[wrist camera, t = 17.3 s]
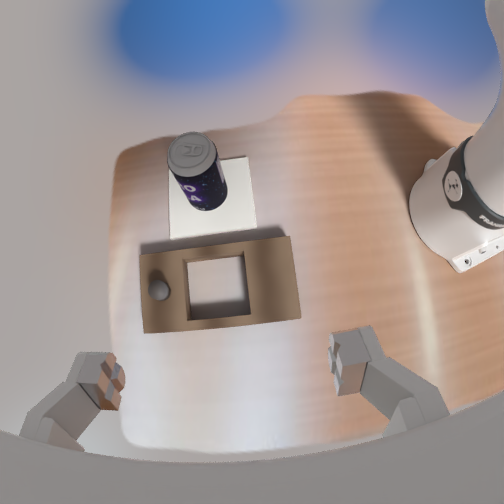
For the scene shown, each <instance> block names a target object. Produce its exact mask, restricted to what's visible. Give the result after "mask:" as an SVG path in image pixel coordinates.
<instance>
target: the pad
mask: <svg viewBox="0 0 504 504" xmlns="http://www.w3.org/2000/svg"><path fill="white" fill-rule="evenodd" d="M220 163H221V167H222V170H223V174H224V177H225V181H226V184H227V188H228V193H227V197H226V199H225V201H224V202H223V204H222V205H221V206H219V207H218V208H216V209H214V210H211V211H201V210H198V209H196V208H194V207H193V206H192V205H191V204H190V202H189V201H188V199H187V197H186V196H185V194H184V192H183V191H182V189H181V187H180V186H179V184H178V182H177V180H176V179H175V177H174V175H173V174H172V172H171V170H170V169H169V216H170V239H171V240H176V239H183V238H190V237H197V236H205V235H212V234H220V233H228V232H235V231H243V230H251V229H257V224H256V216H255V208H254V200H253V192H252V185H251V177H250V169H249V162H248V157H244V158H237V159H230V160H222V161H220Z"/></svg>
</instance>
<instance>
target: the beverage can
mask: <svg viewBox="0 0 504 504" xmlns="http://www.w3.org/2000/svg"><path fill="white" fill-rule="evenodd" d="M167 162H168V167H169V169H170V170H171V172H172V174H173V175H174V177H175V179H176V180H177V182H178V184H179V186H180V187H181V189H182V191H183V192H184V194H185V196H186V197H187V199H188V201H189V202H190V204H191V205H192V206H193V207H194V208H196V209H198V210H201V211H211V210H214V209H216V208H218V207H219V206H221V205H222V204H223V202H224V201H225V199H226V197H227V193H228V188H227V184H226V181H225V177H224V174H223V170H222V167H221V163H220V160H219V156H218V153H217V149H216V146H215V144H214V143H213V142H212V141H211V140H210V139H209V138H208V137H207V136H205V135H204V134H202V133H198V132H188V133H184V134H182V135H180V136H178V137H177V138H176V139H175V140H173V142H172V143H171V144H170V146H169V149H168V159H167Z"/></svg>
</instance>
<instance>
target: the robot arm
mask: <svg viewBox="0 0 504 504" xmlns="http://www.w3.org/2000/svg"><path fill="white" fill-rule="evenodd" d="M485 10H486V16H487V21H488V24H489V26H490V28H491V30H492V33H493V35H494V38H495V41H496V44H497V48H498V52H499V58H500V67H501V81H500V89H499V94H498V98H497V101H496V104H495V106H494V108H493V110H492V111H491V113H490V115H489V116H488V118H487V119H486V121H485V122H484V123H483V125H482V126H481V127H480V129H479V130H478V131H477V132H476V134H475V135H474V136H470V137H469V138H467V139H466V140H465V141H463V142H462V143H461V144H460V145H459V146H458V147H457V148H455V147H452V148H450V149H449V150H448V151H447V152H446V153H445V154H444V155H442V156H441V157H440V158H439V159H438V160H435V159H430V160H429V161H428V162H427V163H426V165H425V168H424V173H423V175H422V176H421V177H420V178H419V179H418V180H417V181H416V183H415V184H414V186H413V188H412V190H411V194H410V200H409V208H410V215H411V219H412V222H413V225H414V227H415V229H416V231H417V233H418V235H419V236H420V238H421V239H422V240H423V242H424V243H425V244H426V245H427V246H428V247H429V248H430V249H431V250H432V251H434V252H435V253H437V254H438V255H440V256H442V257H444V258H445V259H446V260H447V261H448V262H449V263H450V265H451V266H452V267H453V268H454V269H455V270H456V271H457V272H458V273H462V272H464V271H466V270H468V269H470V268H472V267H474V266H476V265H478V264H479V263H481V262H483V261H485V260H487V259H489V258H490V257H492V256H494V255H496V254H498V253H499V252H501V251H503V250H504V0H485ZM465 260H466V262H467V264H466V263H465ZM329 342H330V345H331V346H330V347H329V348H328V359H329V366H330V370H331V373H333V374H334V375H335V376H334V385H335V388H336V392H337V395H338V396H343V395H348V394H354V393H359V392H360V394H361V395H362V396H363V397H365V398H366V399H367V400H368V401H369V402H370V403H371V404H372V405H373V406H375V407H376V408H377V409H378V410H379V411H380V412H381V413H382V414H384V415H385V416H386V417H387V418H388V419H389V420H390V422H389V424H388V425H387V427H386V429H385V431H384V433H383V438H381V439H377V440H373V441H370V442H365V443H361V444H357V445H353V446H348V447H344V448H339V449H334V450H329V451H323V452H318V453H312V454H305V455H299V456H291V457H283V458H276V459H266V460H253V461H237V462H209V463H208V462H206V463H204V462H166V461H150V460H139V459H128V458H120V457H113V456H106V455H99V454H93V453H87V452H84V451H85V450H84V448H83V446H81V445H80V444H79V443H78V442H77V441H76V440H77V439H78V438H79V436H80V435H81V434H82V433H83V431H84V430H85V429H86V428H87V427H88V425H89V424H90V423H91V422H92V420H93V419H94V418H95V417H96V416H97V415H98V413H99V412H100V410H116V411H118V409H119V405H120V401H121V395H120V393H119V392H120V391H121V390H122V389H124V385H125V374H124V370H123V369H122V367H121V366H120V365H119V364H117V363H116V357H115V356H114V354H113V353H106V352H105V353H103V352H79V353H78V354H77V355H76V358H75V360H74V362H73V365H72V367H71V370H70V372H69V374H68V377H67V379H66V382H62V383H61V384H60V385H59V386H57V387H56V388H55V389H54V390H53V391H52V392H51V393H49V394H48V395H47V396H46V397H45V398H44V399H42V400H41V401H40V402H39V403H38V404H37V405H36V406H34V407H33V408H32V409H31V410H30V411H29V412H28V413H27V416H26V418H25V421H24V424H23V426H22V429H21V431H20V434H19V436H18V435H14V434H11V433H8V432H5V431H2V430H0V504H504V390H503V391H502V392H500V393H498V394H496V395H494V396H492V397H490V398H488V399H486V400H483V401H481V402H479V403H477V404H475V405H473V406H470V407H468V408H466V409H464V410H461V411H459V412H456V413H454V414H452V415H450V413H449V411H448V409H447V407H446V405H445V403H444V400H443V398H442V396H441V394H440V392H439V390H438V388H437V387H436V386H434V385H432V384H431V383H429V382H428V381H426V380H425V379H423V378H422V377H420V376H418V375H417V374H415V373H414V372H412V371H411V370H409V369H407V368H406V367H404V366H403V365H401V364H400V363H398V362H397V361H395V360H393V359H392V358H390V357H388V358H386V356H385V354H384V352H383V350H382V348H381V345H380V343H379V341H378V339H377V337H376V334H375V332H374V330H373V328H372V327H371V326H370V325H369V326H364V327H359V328H353V329H348V330H343V331H338V332H332V333H330V335H329Z"/></svg>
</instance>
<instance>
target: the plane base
mask: <svg viewBox="0 0 504 504" xmlns="http://www.w3.org/2000/svg"><path fill="white" fill-rule="evenodd" d="M237 256H245V265H246V274H247V283H248V292H249V300H250V309H251V315H242V316H233V317H223V318H213V319H203V320H192V318H191V307H190V296H189V283H188V270H187V263H188V262H196V261H204V260H212V259H220V258H228V257H237ZM140 284H141V302H142V317H143V329H144V333H165V332H179V331H192V330H204V329H215V328H225V327H235V326H244V325H253V324H262V323H270V322H278V321H286V320H293V319H300V318H301V310H300V302H299V295H298V288H297V281H296V274H295V267H294V260H293V253H292V246H291V240H290V236H284V237H276V238H268V239H260V240H252V241H244V242H236V243H228V244H220V245H213V246H205V247H197V248H189V249H182V250H174V251H167V252H159V253H152V254H144V255H140Z"/></svg>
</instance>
